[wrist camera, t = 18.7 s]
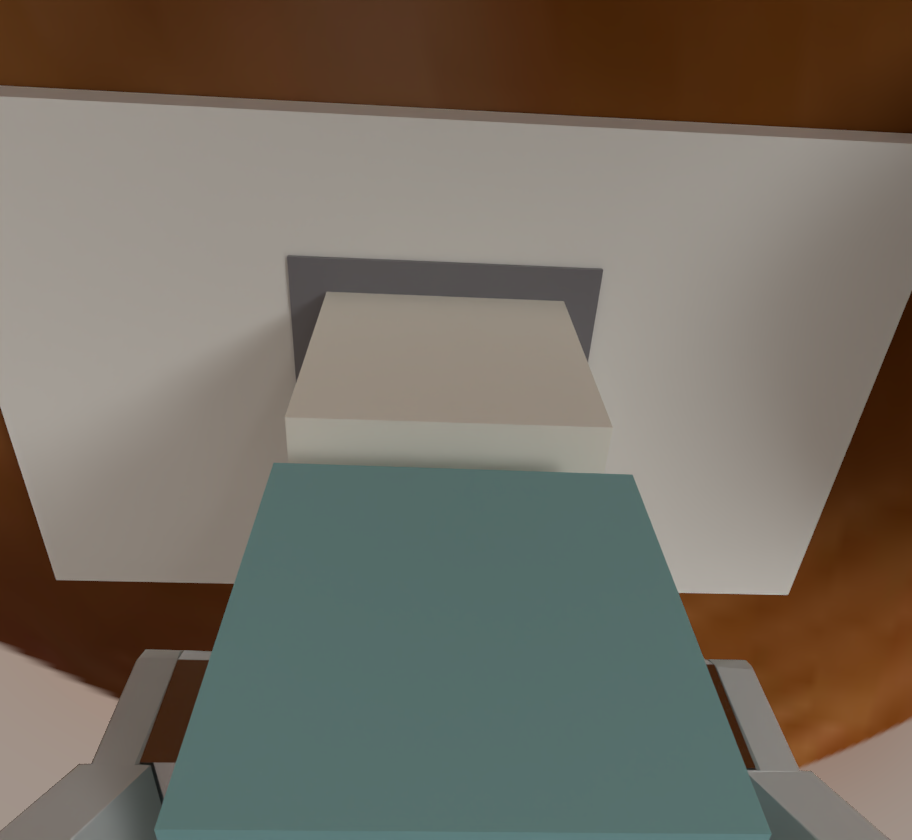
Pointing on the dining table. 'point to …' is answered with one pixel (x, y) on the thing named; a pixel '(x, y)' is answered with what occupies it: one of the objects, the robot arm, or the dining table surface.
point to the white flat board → (432, 274)
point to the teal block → (456, 670)
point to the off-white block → (447, 387)
